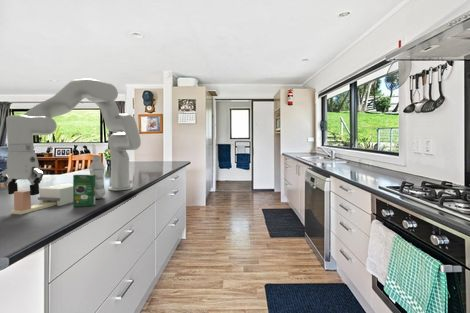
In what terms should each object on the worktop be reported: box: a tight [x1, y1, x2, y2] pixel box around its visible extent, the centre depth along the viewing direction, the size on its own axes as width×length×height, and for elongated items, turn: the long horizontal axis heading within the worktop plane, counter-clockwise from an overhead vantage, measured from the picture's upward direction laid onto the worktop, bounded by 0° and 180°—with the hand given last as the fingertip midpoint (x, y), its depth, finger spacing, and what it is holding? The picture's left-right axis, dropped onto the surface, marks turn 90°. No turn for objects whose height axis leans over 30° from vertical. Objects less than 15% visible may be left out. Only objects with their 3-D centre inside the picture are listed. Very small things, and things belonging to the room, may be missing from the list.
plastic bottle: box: [89, 155, 106, 200], centre depth 128 cm, size 6×7×20 cm
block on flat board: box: [11, 190, 57, 215], centre depth 109 cm, size 19×4×8 cm, turn 169°
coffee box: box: [72, 174, 96, 208], centre depth 113 cm, size 8×3×13 cm, turn 102°
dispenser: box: [37, 182, 73, 207], centre depth 121 cm, size 15×10×7 cm
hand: (24, 194), depth 103 cm, fingers open, 9 cm apart
